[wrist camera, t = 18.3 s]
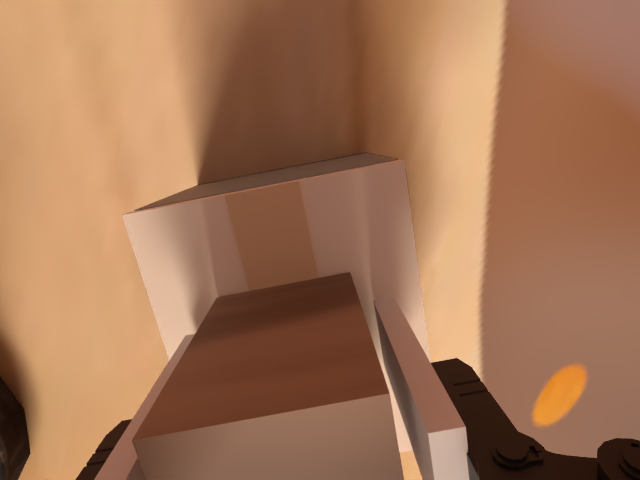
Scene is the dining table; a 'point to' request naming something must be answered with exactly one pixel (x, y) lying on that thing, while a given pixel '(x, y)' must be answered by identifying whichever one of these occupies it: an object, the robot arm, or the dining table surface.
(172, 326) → the lid
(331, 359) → the walnut block
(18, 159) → the dining table surface
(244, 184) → the carton
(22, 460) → the beer stein
